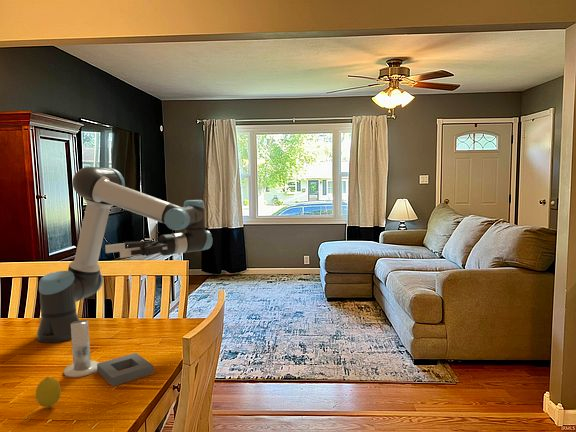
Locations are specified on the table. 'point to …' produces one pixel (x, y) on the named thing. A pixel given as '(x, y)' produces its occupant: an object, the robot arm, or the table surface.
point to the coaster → (71, 372)
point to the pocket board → (118, 377)
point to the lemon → (48, 392)
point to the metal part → (80, 345)
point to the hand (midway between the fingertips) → (112, 251)
